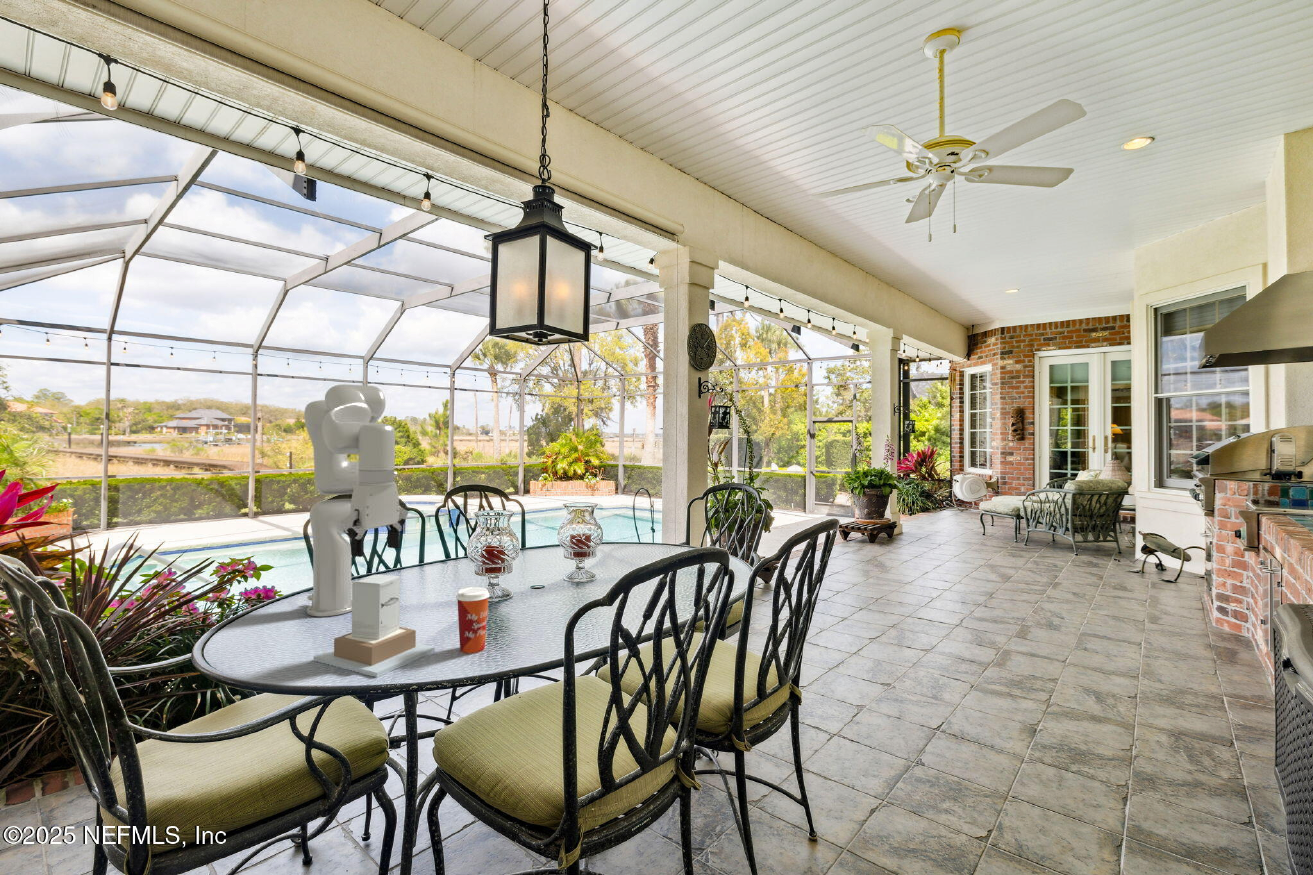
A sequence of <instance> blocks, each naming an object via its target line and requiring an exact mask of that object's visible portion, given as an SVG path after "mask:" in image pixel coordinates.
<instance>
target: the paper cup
mask: <svg viewBox="0 0 1313 875" xmlns="http://www.w3.org/2000/svg"><path fill="white" fill-rule="evenodd" d="M489 597H490V593H489V591H488V589H487V588H486V587H480V586H478V587H477V586H474V587H473V586H471V587H470V586H469V587H466V588H465V587H464V588H461V589H460V590H458V592H457V595H456V597H455V598H456V601H457V614H458V615H457V617H458V620H457V621H458V636H459V650H460V652H461V653H463V654H468V655H469V654H478V653H480V652H483V651H484V650H485V647H486V638H487V637H486V636H487V624H488V607H489V606H488V605H489Z"/></svg>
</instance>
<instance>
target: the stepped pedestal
mask: <svg viewBox="0 0 1313 875" xmlns="http://www.w3.org/2000/svg"><path fill="white" fill-rule="evenodd" d="M416 632H417V630H416V629H411V628H406V627H401V626H399V629H398V630H395V631H393V632H391V633H389V634H387V635H385V636H383V637H381V638H379V639H370V638H361V637H354V636H352V631H351V632H349V633H347V634H343V635H341V636H338V637H335V638H334V639H333V648H332V649H330V650H328V651H324V652H322V653H319V654H317V655H314V656H313V661H314V662H316V661H318V662H317V663H320V662H321V664H324V663H326V664H325V665H328V664H329V666H332V665H333V666H332V667H335V666H336V667H335V668H339V667H341V668H340V669H343V670H347V669H348V671H351V670H352V671H351V672H354V671H355V673H358V672H359V674H363V675H366V676H371V677H373V676H375V677H374V678H380V677H381V676H384V675H386V674H387V673H388V674H389V673H390V672H392V671H394V670H396V669H398V668H401V667H403V666H406V665H408V664H410V663H412V662H414V661H416V660H419V659H421V658H423V657H426V656H427V655H430V654H432V653H434V652H436V647H435V646H433V645H427V644H423V643H418V642H416V639H417V637H416V636H417V635H416V634H417V633H416Z"/></svg>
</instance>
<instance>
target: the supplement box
mask: <svg viewBox="0 0 1313 875" xmlns="http://www.w3.org/2000/svg"><path fill="white" fill-rule="evenodd" d="M400 586H401V576H399V575H385V574H372V575H369V576H366V577H363V578H361V579H357V580H354V581H351V600H352V611H351V632H352V636H354V637H361V638H370V639H379V638H381V637H383V636H385V635H387V634H389V633H391V632H393V631H395V630H398V629H399V627H400V609H401V608H400V602H401V600H400V597H401V596H400V593H401V592H400V590H401V587H400Z"/></svg>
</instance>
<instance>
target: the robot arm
mask: <svg viewBox="0 0 1313 875" xmlns="http://www.w3.org/2000/svg"><path fill="white" fill-rule="evenodd" d="M386 404H387V403H386V397H385V394H384V392H383V391H382V389H381V388H379V387H377V386H375V385H365V384H363V385H362V384H346V383H344V384H336V385H333V386H331V387H330V388H329V389H328V390H327V391H326V393H325V394H324V399H321V400H314V401H311V402H309V403H307V404H306V406H305V407H304V413H303V414H304V415H303V416H304V425H305V428H306V432H307V434H308V436H309V438H310V441H311V444H312V448H313V466H314V467H313V470H314V486H315V489H316V491H317V493H318V494H320V495H325V496H337V495H338V496H339V495H340V496H341V495H351V498H339V499H326V500H321V501H318V502H316V503H314V505H312V507H311V508H310V509H309V510H310V511H309V522H310V527H311V535H312V545H313V548H312V551H313V554H312V555H313V556H312V557H313V558H312V560H313V562H312V563H313V565H312V567H313V568H312V569H313V571H312V575H313V577H312V580H313V582H312V583H313V584H312V586H313V587H312V588H313V589H312V590H313V591H312V593H311V594H309V595H308V596H307V600H308V601H311V605H309V606H308V607H307V608H306V614H307V615H309V616H312V617H332V616H340V615H342V614H343V615H344V614H346V613H350V612H352V557H356V558H357V557H358V558H361V557H364V552H365V549H364V546H365V544H364V543H365V542H364V538H362V537H363V535H364V534H365V533H366V531H367V530H369V531H370V530H371V529H373V530H374V529H378V528H384V527H387V528H388V529H389V530H387V540H386V542H387V548H389V549H396V550H397V549H399V548H400V532H401V531H403V526H404V525H405V524H406V520H407V517H408V515H409V511H408V510H407V509H405V508H402V507H400V499H399V491H398V485H397V482H395V478H396V477H397V476H398V472H397V471H395V468H396V467H395V465H396V464H395V463H396V462H395V461H396V430H395V427H394V426H393V425H391V424H386V423H383V422H378V421H379V419H381V417H382V415H383V414H384V412H385V410H386ZM348 455H358V461H357V460H356V461H350V460H349V459H348ZM343 533H344V534H346V535H347V537H348V539H350V542H349V541H348V540H347V539H346V538H345V537H344V536H342V534H343Z"/></svg>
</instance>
